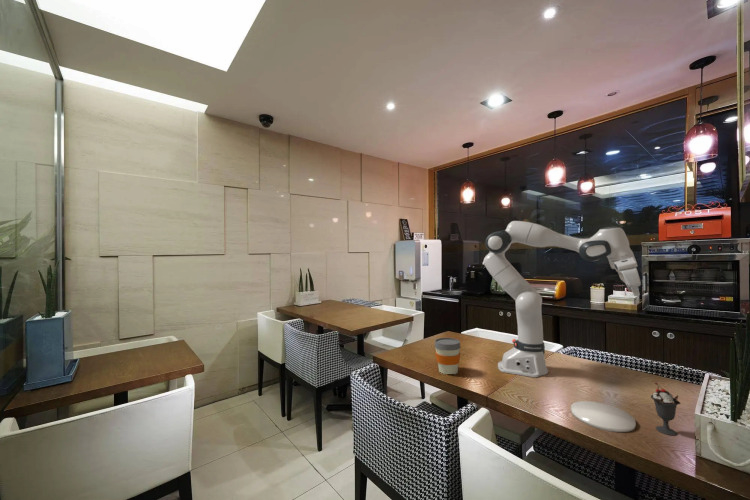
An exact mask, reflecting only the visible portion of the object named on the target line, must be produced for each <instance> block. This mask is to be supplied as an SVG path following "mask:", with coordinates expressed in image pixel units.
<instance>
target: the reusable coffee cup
mask: <svg viewBox="0 0 750 500" xmlns="http://www.w3.org/2000/svg"><path fill="white" fill-rule="evenodd" d="M434 348H435V358H436V362H437V365H438V372H439V373H440V372H441V373H440V374H442V373H443V374H442V375H445V374H454V375H456V374H458V371H459V363H460V360H461V359H460V358H461V352H460V351H461V350H460V349H461V342H460V340H459V339H457V338H453V337H440V338H436V339H435V340H434Z"/></svg>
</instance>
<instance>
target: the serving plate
mask: <svg viewBox="0 0 750 500" xmlns="http://www.w3.org/2000/svg"><path fill="white" fill-rule="evenodd" d="M570 412H571V414H572V416H573V417H575V418H576V419H577V420H579V421H580V422H582V423H583V422H584V424H585V423H586V425H588V426H590V427H593V428H597V429H598V430H603V431H607V432H614V433H627V432H632V431H634V430H635V429H636V425H637V422H636V419H635V417H633V416H632V415H631V414H630V413H628V412H627V411H625V410H623V409H621V408H618V407H616V406H613V405H611V404H607V403H602V402H598V401H591V400H581V401H576V402H573V403H572V404H571V406H570Z"/></svg>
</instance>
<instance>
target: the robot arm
mask: <svg viewBox="0 0 750 500" xmlns="http://www.w3.org/2000/svg"><path fill="white" fill-rule="evenodd" d="M484 243H485V248H486V249H487V250H488V251H489V252H488V253H487V254H486V255H485V257H484V258H483V265H484V267H485V268H486V270H487V271H488V273H489V275H491V277H492V278H493V279H494V280H495V282H496V283H497V284H498V285H499V286H500V288H502V289H503V291H504V292H506V293H507V295H509V296H510V297H511V298H512V299H513V300H514V301H515V314H516V323H517V339H516V338H513V339H512V340H511V341H512V344H513V347H512V348H511V349H509V350H507V351H506V352H504V353H503V355H502V359H501V360H500V361H498V363H497V368H498V370H499V371H500V372H502V373H507V374H511V375H512V374H513V375H517V376H518V375H519V376H523V377H529V378H530V377H531V378H538V377H540V376H545V375H548V374H549V370H548V367H547V364H546V359H545V357H546V356H545V354H546V353H545V352H546V346H545V342H544V331H543V330H544V329H543V327H544V326H543V315H542V310H543V309H542V306H543V305H542V304H543V298H542V296H541V294H540V293H539V291H537V290H536V289H535V288H534V287H533V286H532V285H531V284H530V283H529V282H528V281H527V280H526V279H525V277H523V276H522V275H521V274H520V273H519V271H518V270H517V269H516V268H515V267H514V266H513V265H512V263H510V261H509V260H508V259H507V258H506V255H507V253H508V251H509V250H510V249H511V247H512V244H514V243H517V244H518V243H519V244H522V245H526V246H530V247H535V248H546V247H558V248H563V249H565V250H570V251H573V252H576V253H578V254H579V256H580V257H581V258H582V259H583V260H585V261H586V262H587V261H588V262H596V261H599V260H602V259H603V258H607V260H608V262H609V263H608V264H609V265H610V268H611V269H612V270H615V272H617V274H618V276H619V279H620V280H621V281H622V282H623V283H624V284H625V286H626V287H627V289H628V291H629V292H632V294H633V295H634V297H638V296H640V295H641V294H640V290H639V287H640V286H641V283H642V282H641V278H640V275H639V271H638V269H637V268H638V262H637V260H636V257H635V255H634V252H633V250H632V249H631V247H630V241H629V238H628V237H627V234H626V233H625V231H624V229H623V228H622V227H620V226H607V227H602V228H600V229H599V230H598V231H597V232H596V233H594V234H593V235H592V236H590V237H586V238H585V237H584V238H580V237H575V236H570V235H566V234H563V233H560V232H557V231H555V230H552V229H551V228H548V227H546V226H543V225H542V224H539V223H534V222H531V221H530V222H529V221H523V220H512V221H510V222H509V223H508V224H507V226H506V229H505V230H504V229H503V230H500V231H499V230H498V231H495V232H492V233H490V234H489V235H488V236H487V237H486V238H485V241H484Z"/></svg>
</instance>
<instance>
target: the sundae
mask: <svg viewBox="0 0 750 500" xmlns="http://www.w3.org/2000/svg"><path fill="white" fill-rule="evenodd" d="M654 384H655V385H656V386H657V388H656V389H655V392H654V393H653V394H651V395H650V399H652V400H653V402H654V404H655V406H654V407H655V410H656V411H655V412H656V414H657V416H658V417H659V418H660V419H662V422H663V423H662V426H661V425H660V426H659V425H657V426H655V429H656V431H658V432H660V433H661V434H664V435H667V436H673V437H675V436H677V435H678V432H677V431H675V430H674V429H672V428H671V427H670V425H669V422H670V421H673V420H674V419H675V417H676V410H677V405H681V402H680V401H679V400H678V398H679V394H678V395H676V396H675V397H674V395H672V393H671V392H669V391H667V390H666V389H664V388H661V389H659V388H660V386H659V383H657V382H654Z"/></svg>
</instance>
